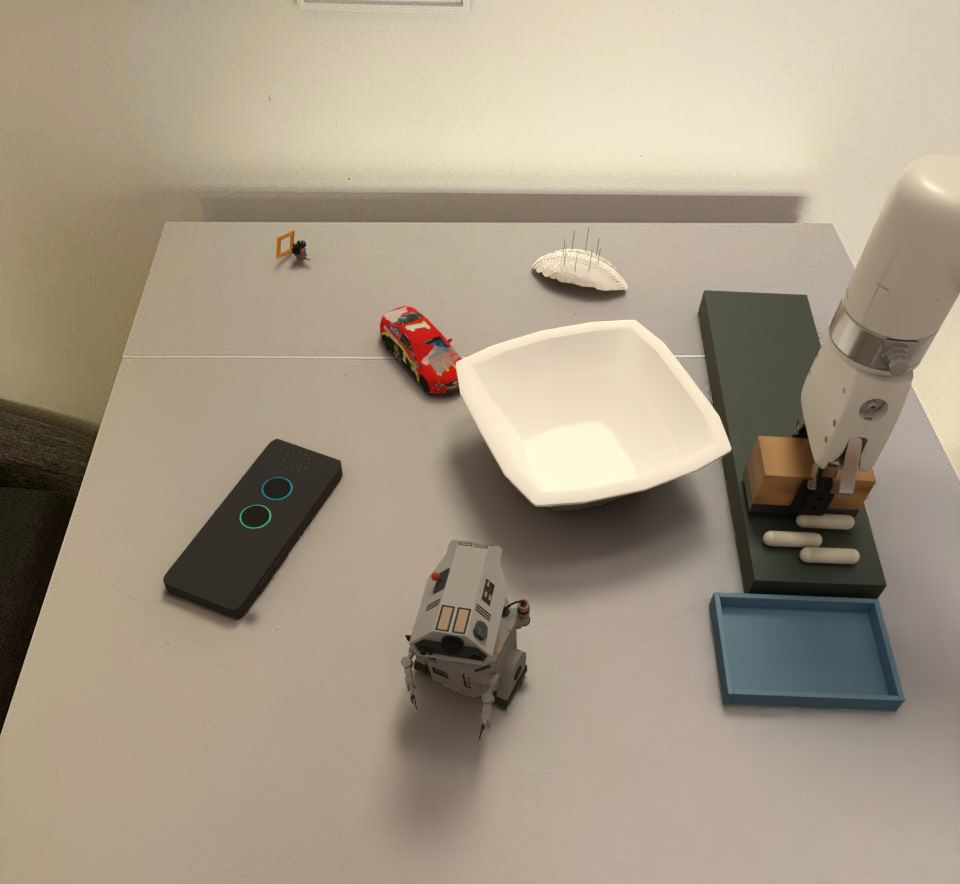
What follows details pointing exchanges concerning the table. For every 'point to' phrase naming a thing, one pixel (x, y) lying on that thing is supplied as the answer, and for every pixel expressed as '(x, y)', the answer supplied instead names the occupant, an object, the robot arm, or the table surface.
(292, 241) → the toy figure with frame
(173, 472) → the table surface
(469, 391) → the bowl
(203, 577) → the smart home device
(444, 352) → the race car
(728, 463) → the board
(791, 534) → the chalk
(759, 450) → the eraser
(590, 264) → the pincushion
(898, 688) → the tray
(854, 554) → the chalk
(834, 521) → the chalk
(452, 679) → the figurine
